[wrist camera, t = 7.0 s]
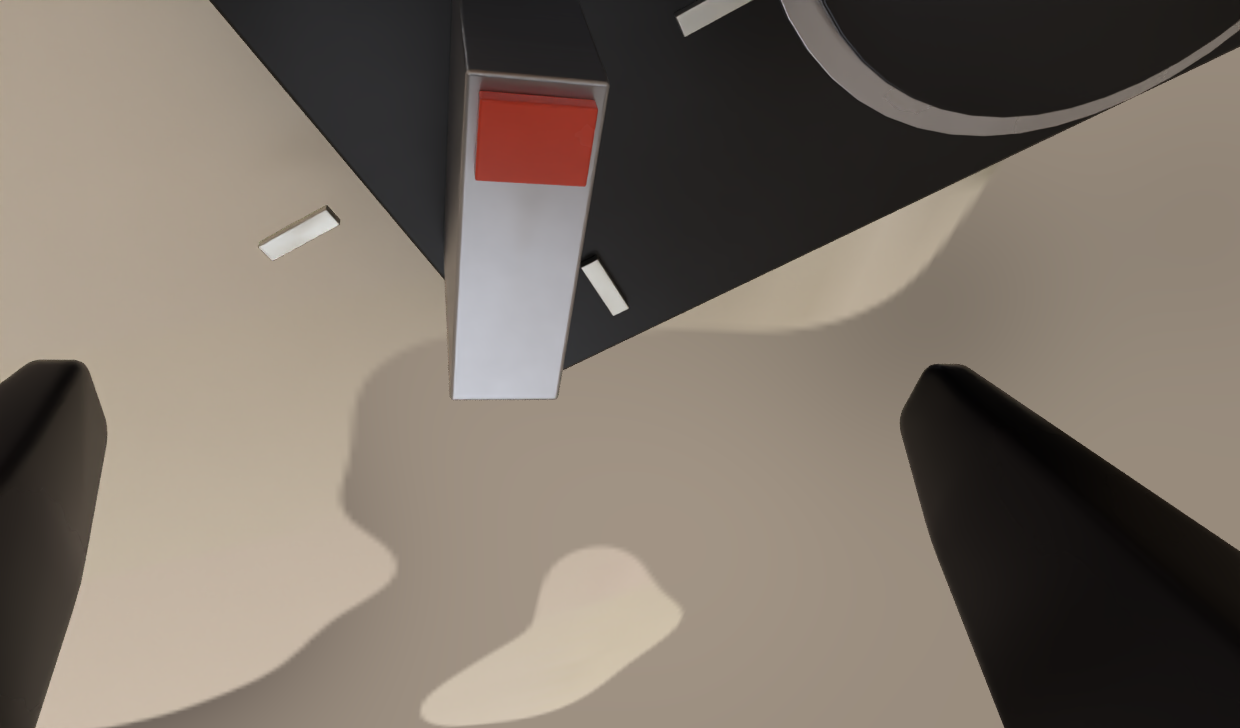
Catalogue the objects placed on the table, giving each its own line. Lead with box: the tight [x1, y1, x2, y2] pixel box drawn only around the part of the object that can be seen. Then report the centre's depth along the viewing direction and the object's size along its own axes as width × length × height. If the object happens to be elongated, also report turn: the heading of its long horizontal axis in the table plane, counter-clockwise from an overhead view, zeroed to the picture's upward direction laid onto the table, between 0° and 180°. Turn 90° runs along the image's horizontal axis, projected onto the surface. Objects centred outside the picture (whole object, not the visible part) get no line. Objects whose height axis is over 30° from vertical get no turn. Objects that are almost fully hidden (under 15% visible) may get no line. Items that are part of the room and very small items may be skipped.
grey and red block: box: [444, 0, 610, 400], centre depth 12 cm, size 5×2×4 cm, turn 171°
